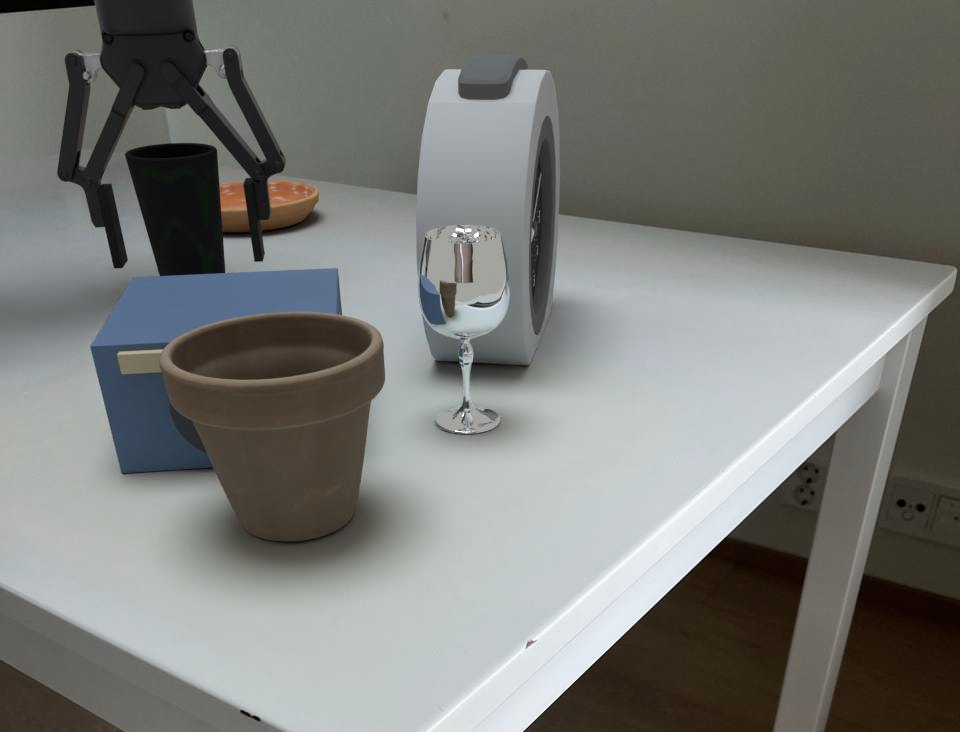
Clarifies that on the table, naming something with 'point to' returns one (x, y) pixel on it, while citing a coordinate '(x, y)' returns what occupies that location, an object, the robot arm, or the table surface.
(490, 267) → the wineglass
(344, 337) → the flower pot
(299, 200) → the saucer
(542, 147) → the alarm clock
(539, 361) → the table surface
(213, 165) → the cup
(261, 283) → the blue tabbed box
